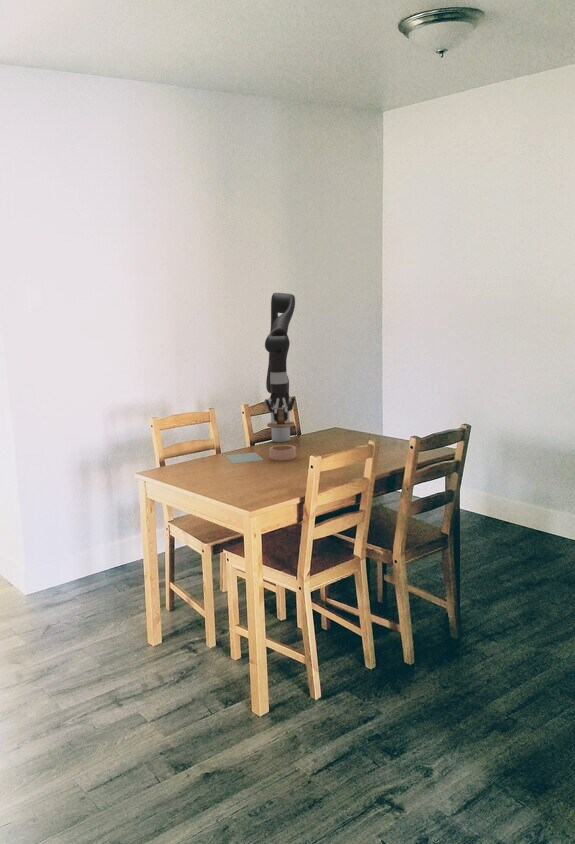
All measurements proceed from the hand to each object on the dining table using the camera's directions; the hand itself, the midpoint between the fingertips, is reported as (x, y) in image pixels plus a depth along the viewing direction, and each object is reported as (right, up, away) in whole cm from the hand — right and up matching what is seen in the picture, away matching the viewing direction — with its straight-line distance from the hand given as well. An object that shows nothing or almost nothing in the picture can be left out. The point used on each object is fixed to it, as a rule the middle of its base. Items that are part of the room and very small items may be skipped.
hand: (280, 420), depth 313 cm
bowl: (+1, -17, +3) cm, 17 cm away
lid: (0, -2, 0) cm, 2 cm away
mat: (-16, -17, +5) cm, 24 cm away
